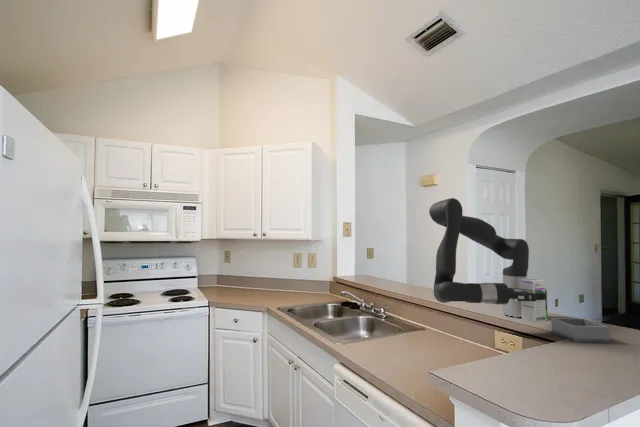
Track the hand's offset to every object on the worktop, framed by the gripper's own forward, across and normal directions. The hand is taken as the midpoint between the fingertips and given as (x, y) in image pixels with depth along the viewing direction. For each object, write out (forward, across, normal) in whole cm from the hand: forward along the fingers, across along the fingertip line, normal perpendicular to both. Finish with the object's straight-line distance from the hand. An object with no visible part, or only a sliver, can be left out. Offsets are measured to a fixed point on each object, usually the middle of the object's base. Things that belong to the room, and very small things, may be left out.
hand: (540, 294), depth 126 cm
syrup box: (-2, 0, +9) cm, 10 cm away
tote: (+11, -3, +14) cm, 18 cm away
